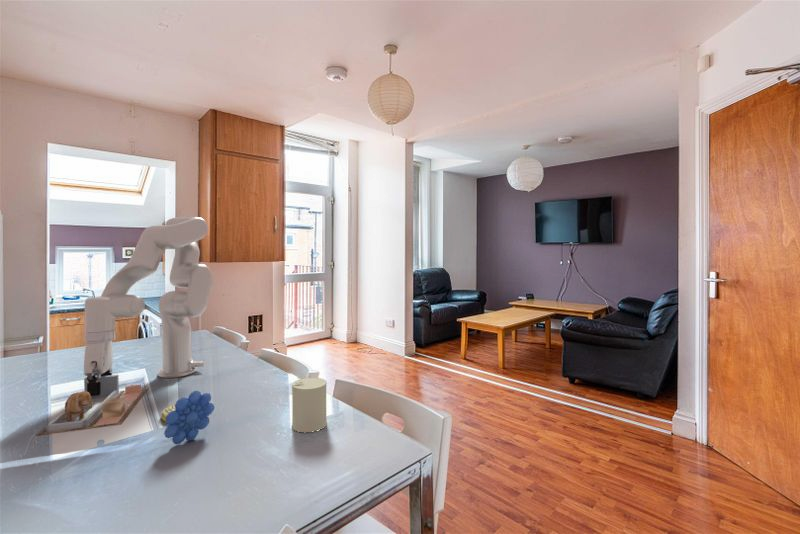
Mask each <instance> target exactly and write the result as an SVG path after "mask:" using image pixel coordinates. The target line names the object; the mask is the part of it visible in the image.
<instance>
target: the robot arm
mask: <svg viewBox="0 0 800 534" xmlns="http://www.w3.org/2000/svg"><path fill="white" fill-rule="evenodd" d="M208 232H209V224H208V223H207V221H206V220H205V219H203V218H202V217H199V216H183V217H182V216H179V217H178V216H177V217H172V218H169V219H168V220H167V221H165V224H164V225H163V224H162V225H151V226H147V227H146V228H145V229H144V230H143V231H142V233H141V236H140V237H139V239H138V242H137V244H136V246H135V248H134V249H133V252H132V254H131V256H130V259H129V260H128V262H127V263H126V264H125V265H124V266H123V267H122V268H120V269H119V270H118V271H117V272H116V273H115V274H114V275H113V276H112V277H111V278H110V279H109V281H107V284H106V285H105V287H104V289H103V291H102V293H101V294H100V295H101V296H92V297H91V296H90V297H88V298H86V299H85V301H84V343H85V347H84V348H85V349H84V356H83V358H84V359H83V376H86V378H87V392H89V393H90V395H91V396H99V395H100V394H101V382H99V380H100V377H101V376H108V375H113V369H112V367H113V363H114V351H113V341H115V340H116V319H117V318H118V319H119V318H120V319H121V318H127V319H128V318H129V319H130V318H135V317H137V316H139V315H141V314H142V313H143V312H144V310H145V308H146V303H145V300H144V299H143V298H142V297H141V296H138V295H136V294H135V295H134V294H128V292H129V291H130V289H131V288H132V287H133V286H135V284H136V283H137V282H139V281H141V280H144V279H146V278H148V277H149V276H151V275H153V274H154V273H156V271H158V267H159V265H160V263H161V262H162V258H163V256H164V254H165V252H166V250H174V256H173V261H172V266H171V269H170V273H169V283H170V284H171V285H172V286H173V287H175V288H181V289H187V291H185V290H172V291H167V292H165V293H163V294H162V295H161V296H160V298H159V301H158V309H159V310H158V312H159V314H160V318H161V327H162V328H161V331H162V332H161V338H162V339H161V341H162V342H161V343H162V345H161V346H162V351H161V352H162V369H161V370H159V371H158V372H157V376H158V377H159V378H163V379H164V378H165V379H171V378H173V379H174V378H181V377H185V376H189V375H191V374H194V373H195V372H197V368H202V367H205V361H202V360H198V361H197V360H194V358H193V357H192V325H191V321H190V319H189V318H198V317H200V316H201V315H203V314H204V312H205V311H206V309H207V307H208V304H209V298H210V293H211V288H212V284H213V273H212V270H211V269H210V268H209V266H207V265H206V264H203V263H199V260H200V254H201V252H200V248H199V245H198V243H197V241H200V240H202V239H204V238H205V237H206V236H207V235H208ZM96 377H97V378H96Z"/></svg>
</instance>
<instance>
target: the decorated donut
mask: <svg viewBox="0 0 800 534" xmlns="http://www.w3.org/2000/svg"><path fill="white" fill-rule="evenodd" d="M175 404H176V403H173V404H171V405H169V406H166V407H165V408H164V409H162V411H161V417H160V418H161V419H162V421H163V422H165V423H166V421H165V419H166V416H167V415H168V413H170V412H171V411H174V410H176V409H175Z"/></svg>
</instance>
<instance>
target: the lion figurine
mask: <svg viewBox="0 0 800 534" xmlns="http://www.w3.org/2000/svg"><path fill="white" fill-rule="evenodd" d="M64 404H65V405H64V410H65V412H66V413H67V417H66V418H67V422H73V416H77V415H79V418H78V419H79V420H82V419H83V420H84V419H85V409H86V408H87V406H89V407H88V408H89V409H92V408H93V406H94V404H93V402H92V398H91V395H90V393H89V392H86V391H84V390H82V391H79V392H74V393H72V394H71V395H69V396H68V397H67V400H66V401H65V403H64Z"/></svg>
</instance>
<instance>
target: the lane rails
mask: <svg viewBox="0 0 800 534" xmlns="http://www.w3.org/2000/svg"><path fill="white" fill-rule="evenodd" d="M148 389H149V388H147V387H146V388H143V389H142V392H141V393H140V394H139V396H138V397H137V398H136V399H135V401H134V402H132V404H130V405H131V406H130V407H129V408H128V409H127V411H126V412H125V413H124V415H123V416H122V417H121V418H120V420H119V421H118V422H116V423H108V424H101V425H96V424H97V423H98V421H99V420H100V419H101V418H102V417H103V410H102V411H101V413H100V414H99V415H98V416H97V417H96V418H95V419H94V420H93V421H92V422H91V423H90V424H89V425H88V426H87V427H82V428H74V429H67V430H59V431H52V432H45V427H43V428H42V429H41V430H40V431H39V432H38V433H36V434H35V436H43V435H50V434H51V435H53V434H59V433H66V432H67V433H69V432H73V431H81V430H91V429H95V428H103V427H110V426H111V427H112V426H118V425H120V426H121V425H122V424H123V422H125V420H126V419H127V418H128V417H129V415H130V414H131V412H132V411H133V409H134V408H135V407H136V406H137V404H138V403H139V402H140V401H141V399H142V398H143V397H144V395H145V394H146V393H147V391H148ZM124 393H125V390H121V391H119V393H118V395H117V396H116V397H115V398H119V397H121V396H122V395H123V394H124Z"/></svg>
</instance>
